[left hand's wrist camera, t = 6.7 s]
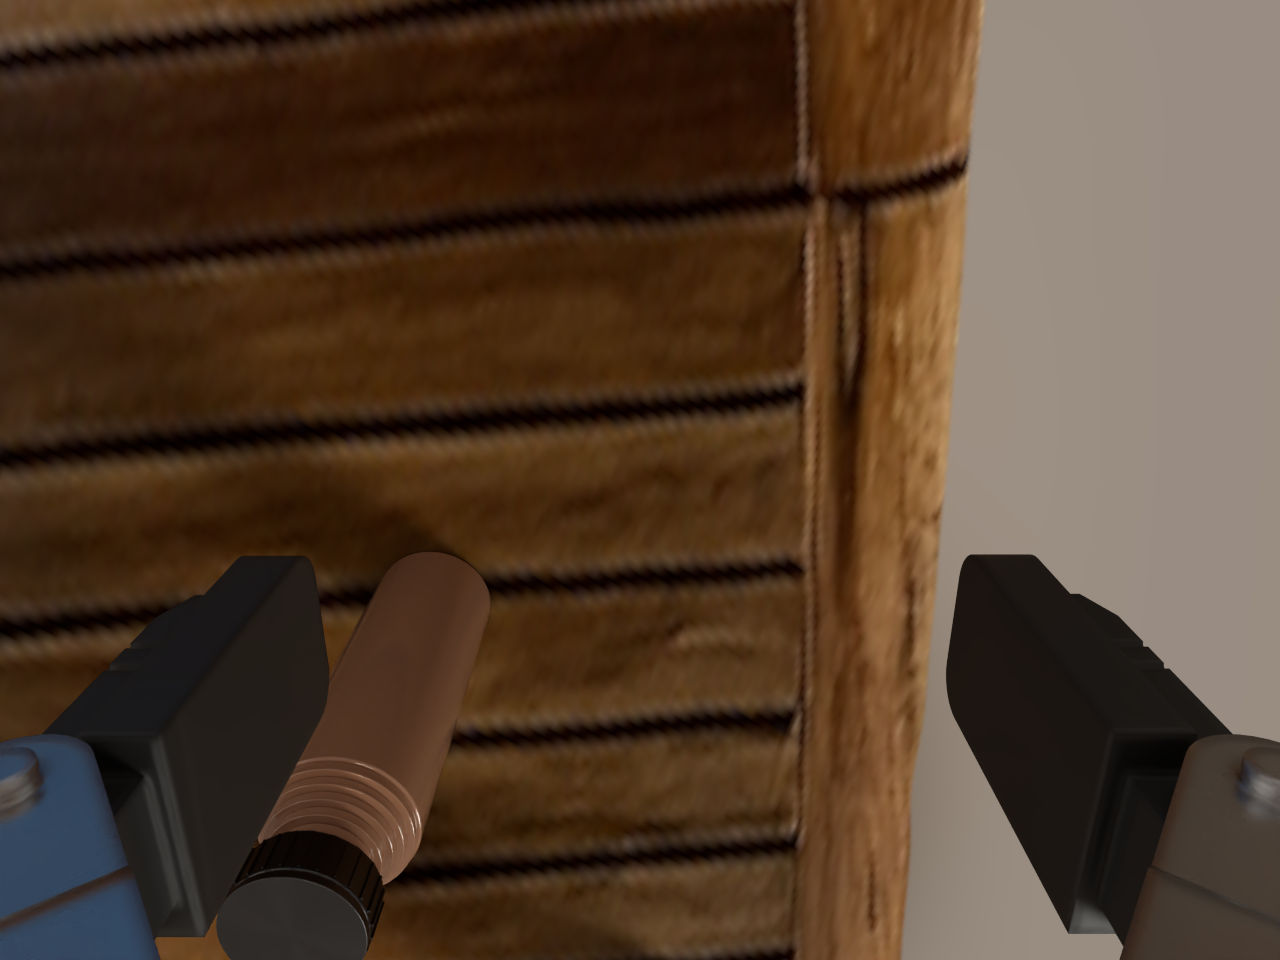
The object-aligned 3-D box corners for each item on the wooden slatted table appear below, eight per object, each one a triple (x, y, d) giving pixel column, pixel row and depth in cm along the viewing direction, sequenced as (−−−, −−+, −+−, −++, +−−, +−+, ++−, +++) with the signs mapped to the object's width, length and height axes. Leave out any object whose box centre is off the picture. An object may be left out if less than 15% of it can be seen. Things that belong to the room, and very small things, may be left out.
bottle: (389, 538, 43) (212, 832, 25) (502, 566, 44) (406, 874, 26) (369, 634, 45) (192, 970, 27) (477, 660, 46) (373, 1007, 28)
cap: (249, 813, 27) (222, 861, 25) (398, 846, 27) (382, 895, 26) (232, 921, 28) (205, 973, 27) (372, 950, 29) (355, 1003, 27)
